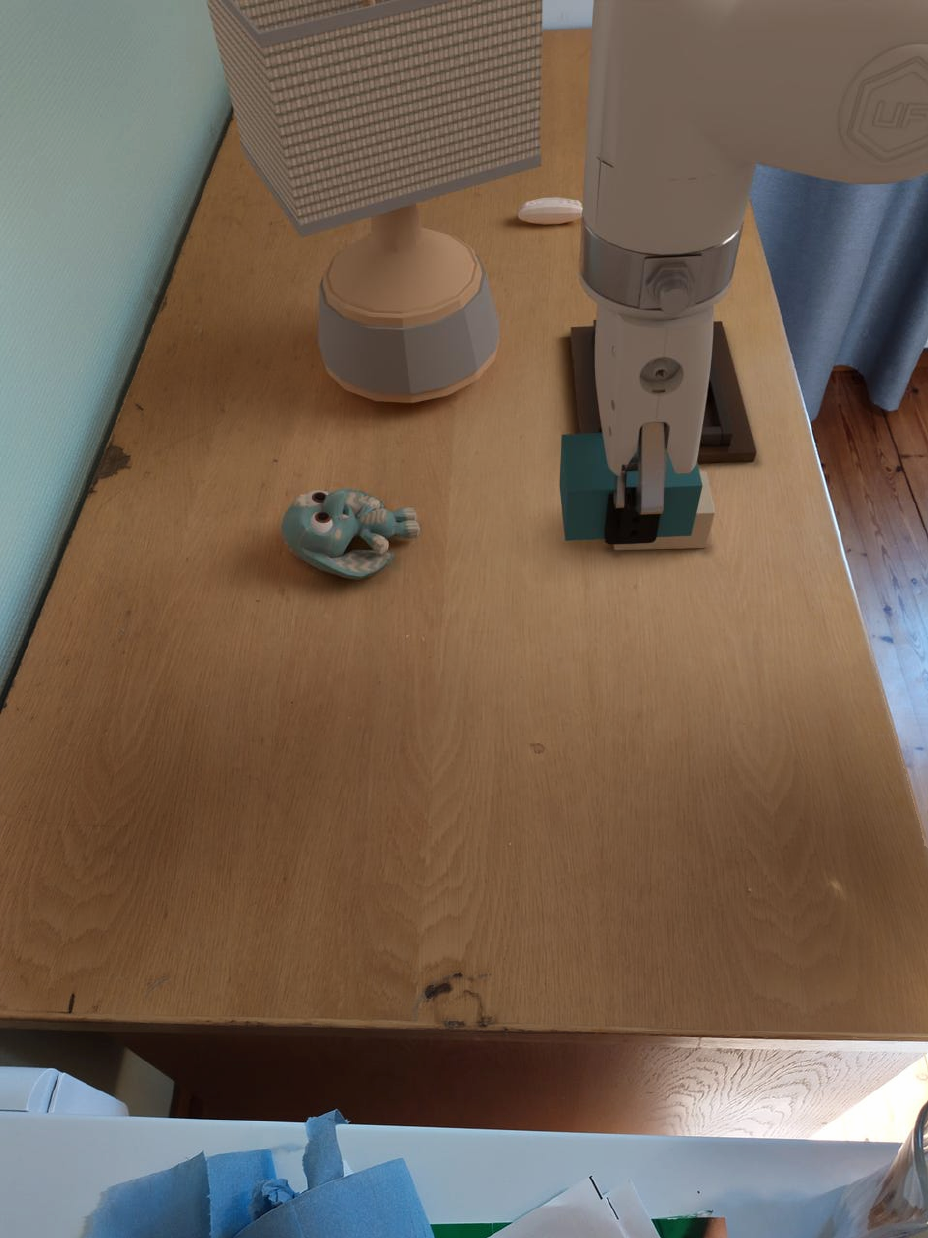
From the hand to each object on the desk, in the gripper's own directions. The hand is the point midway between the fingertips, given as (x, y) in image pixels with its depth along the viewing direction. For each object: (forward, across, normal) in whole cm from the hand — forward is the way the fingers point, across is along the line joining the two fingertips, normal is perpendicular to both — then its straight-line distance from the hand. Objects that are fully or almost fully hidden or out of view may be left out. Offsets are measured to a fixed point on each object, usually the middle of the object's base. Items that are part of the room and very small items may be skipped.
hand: (624, 504), depth 58 cm
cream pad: (+17, +13, -6) cm, 23 cm away
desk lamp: (+17, +39, +17) cm, 46 cm away
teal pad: (0, 0, 0) cm, 0 cm away
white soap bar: (+17, +64, 0) cm, 67 cm away
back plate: (+17, +31, -8) cm, 37 cm away
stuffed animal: (+17, +13, +21) cm, 30 cm away
